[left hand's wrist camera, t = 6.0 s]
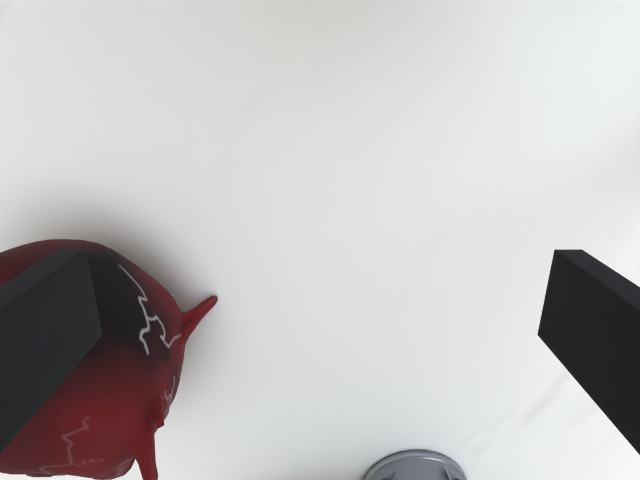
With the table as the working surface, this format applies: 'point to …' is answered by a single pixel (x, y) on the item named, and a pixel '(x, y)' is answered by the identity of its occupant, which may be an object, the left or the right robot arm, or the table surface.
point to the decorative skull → (106, 373)
